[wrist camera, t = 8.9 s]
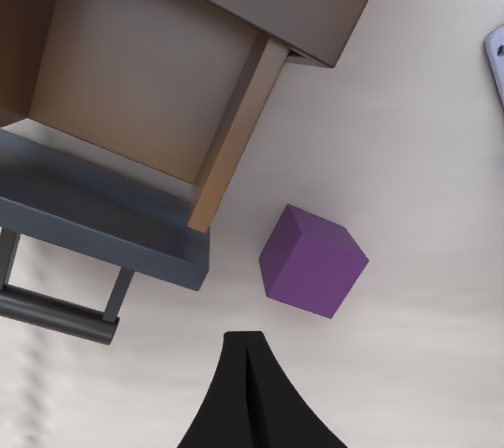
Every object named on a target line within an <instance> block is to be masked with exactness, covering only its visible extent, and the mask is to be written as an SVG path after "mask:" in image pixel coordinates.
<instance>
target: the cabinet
mask: <svg viewBox="0 0 504 448" xmlns="http://www.w3.org/2000/svg"><path fill="white" fill-rule="evenodd" d="M199 1H201V2H203V3H205V4H207V5H209V6H211V7H213V8H214V9H216V10H218V11H220V12H222V13H224V14H226V15H228V16H229V17H231V18H233V19H235V20H237V21H239V22H241V23H243V24H245V25H246V26H248V27H250V28H252V29H254V30H256V31H258V32H260V33H261V34H263V35H265V36H267V37H269V38H271V39H273V40H275V41H276V42H278V43H280V44H282V45H284V46H286V47H288V48H290V51H289V53H288V56H287V58H286V60H285V62H289V63H296V64H303V65H311V66H318V67H325V68H334V67H335V65H336V63H337V61H338V60H339V58H340V56H341V54H342V52H343V50H344V48H345V46H346V44H347V42H348V40H349V38H350V36H351V34H352V32H353V30H354V28H355V26H356V24H357V22H358V20H359V18H360V16H361V14H362V12H363V10H364V8H365V6H366V4H367V2H368V0H199Z"/></svg>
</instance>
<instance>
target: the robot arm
mask: <svg viewBox="0 0 504 448" xmlns="http://www.w3.org/2000/svg"><path fill="white" fill-rule="evenodd" d="M500 46H501V47H502V52H501V54H500V55H499V56H498V55H497V50H498V48H499V47H500ZM485 47H486V51H487V54H488V57H489V61H490V64H491V67H492V70H493V74H494V77H495V80H496V84H497V87H498V90H499V93H500V97H501V100H502V103H503V107H504V25H503V26H501V27H500V28H498V29H497V30H495V31H493V32H492V33H491V34H490V35H489V36H488V37H487V39H486V42H485ZM177 448H348V447H347V446H346V445H345V444H344V443H343V442H342V441H341V440H340V439H338V438H337V437H336V436H335V435H334V434H333V433H332V432H331V431H330V430H329V429H328V428H327V427H326V426H325V424H324V423H323V422H322V421H321V420H320V419H319V418H318V417H317V416H316V414H315V413H314V412H313V411H312V410H311V409H310V407H309V406H308V405H307V404H306V402H305V401H304V400H303V399H302V397H301V396H300V395H299V393H298V392H297V391H296V389H295V388H294V386H293V385H292V384H291V382H290V381H289V379H288V378H287V376H286V375H285V373H284V371H283V370H282V368H281V367H280V365H279V363H278V362H277V360H276V358H275V356H274V355H273V353H272V351H271V349H270V347H269V345H268V343H267V341H266V339H265V337H264V334H263V333H262V332H261V331H229V332H226V333H225V334H224V341H223V347H222V352H221V355H220V359H219V362H218V365H217V368H216V371H215V374H214V377H213V380H212V382H211V384H210V387H209V389H208V392H207V394H206V396H205V398H204V401H203V403H202V405H201V407H200V409H199V411H198V413H197V415H196V416H195V418H194V420H193V422H192V424H191V425H190V427H189V429H188V431H187V432H186V434H185V436H184V437H183V439H182V441H181V442H180V444H179V445H178V447H177Z"/></svg>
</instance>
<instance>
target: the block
mask: <svg viewBox="0 0 504 448" xmlns="http://www.w3.org/2000/svg"><path fill="white" fill-rule="evenodd" d="M368 262H369V260H368V258H367V257H366V256H365V254H364V253H363V251H362V250H361V249H360V247H359V246H358V245H357V243H356V242H355V241H354V239H353V238H352V237H351V235H350V234H349V233H348V231H347V230H346V228H344V227H342V226H339V225H337V224H335V223H332V222H330V221H327V220H325V219H323V218H320V217H318V216H315V215H313V214H311V213H308V212H306V211H303V210H301V209H299V208H296V207H294V206H291V205H289V204H288V205H287V207H286V208H285V210H284V212H283V214H282V216H281V218H280V220H279V222H278V224H277V225H276V227H275V229H274V231H273V233H272V235H271V237H270V239H269V241H268V242H267V244H266V246H265V248H264V250H263V252H262V254H261V256H260V258H259V263H260V268H261V273H262V278H263V282H264V287H265V292H266V296H267V297H268V298H271V299H274V300H277V301H280V302H283V303H286V304H289V305H292V306H295V307H298V308H300V309H303V310H306V311H309V312H312V313H315V314H318V315H321V316H324V317H327V318H330V319H331V318H332V317H333V315H334V314H335V312H336V311H337V309H338V308H339V306H340V305H341V303H342V302H343V300H344V298H345V297H346V295H347V294H348V292H349V291H350V289H351V288H352V286H353V285H354V283H355V282H356V280H357V279H358V277H359V276H360V274H361V272H362V271H363V269H364V268H365V266H366V265H367V263H368Z"/></svg>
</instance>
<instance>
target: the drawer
mask: <svg viewBox="0 0 504 448" xmlns="http://www.w3.org/2000/svg"><path fill="white" fill-rule="evenodd" d="M289 51H290V48H288V47H286V46H284V45H282V44H280V43H278V42H276V41H275V40H273V39H271V38H269V37H267V36H265V35H263V34H261V33H260V32H258V31H256V30H254V29H252V28H250V27H248V26H246V25H245V24H243V23H241V22H239V21H237V20H235V19H233V18H231V17H229V16H228V15H226V14H224V13H222V12H220V11H218V10H216V9H214V8H213V7H211V6H209V5H207V4H205V3H203V2H201V1H199V0H0V227H2V230H1V234H0V316H3V317H6V318H10V319H14V320H17V321H21V322H25V323H28V324H32V325H35V326H39V327H43V328H46V329H50V330H54V331H57V332H61V333H65V334H68V335H72V336H76V337H79V338H83V339H86V340H90V341H94V342H97V343H101V344H105V345H110V344H111V342H112V339H113V337H114V334H115V332H116V329H117V326H118V324H119V321H120V317H118V316H117V315H118V312H119V310H120V307H121V305H122V302H123V300H124V297H125V294H126V292H127V289H128V287H129V284H130V282H131V279H132V277H133V274H134V272H135V271H136V272H140V273H143V274H146V275H149V276H152V277H155V278H158V279H161V280H164V281H167V282H170V283H173V284H176V285H179V286H182V287H185V288H188V289H191V290H194V291H199V290H200V288H201V286H202V284H203V282H204V279H205V277H206V275H207V273H208V271H209V250H210V224H211V221H212V219H213V217H214V215H215V213H216V211H217V208H218V206H219V204H220V202H221V200H222V197H223V195H224V193H225V191H226V189H227V187H228V184H229V182H230V180H231V178H232V176H233V173H234V171H235V169H236V167H237V165H238V163H239V160H240V158H241V156H242V154H243V152H244V149H245V147H246V145H247V143H248V141H249V138H250V136H251V134H252V132H253V130H254V128H255V125H256V123H257V121H258V119H259V117H260V114H261V112H262V110H263V108H264V106H265V104H266V101H267V99H268V97H269V95H270V93H271V90H272V88H273V86H274V84H275V82H276V80H277V77H278V75H279V73H280V71H281V69H282V66H283V64H284V62H285V60H286V58H287V56H288V53H289ZM26 118H29V119H32V120H34V121H37V122H39V123H42V124H44V125H47V126H49V127H52V128H54V129H57V130H59V131H62V132H64V133H67V134H69V135H71V136H74V137H76V138H79V139H81V140H84V141H86V142H89V143H91V144H94V145H96V146H99V147H101V148H104V149H106V150H109V151H111V152H114V153H116V154H119V155H121V156H124V157H126V158H129V159H131V160H134V161H136V162H139V163H141V164H144V165H146V166H148V167H151V168H153V169H156V170H158V171H161V172H163V173H166V174H168V175H171V176H173V177H176V178H178V179H181V180H183V181H186V182H188V183H191V184H193V192H192V198H191V202H188V201H186V200H183V199H180V198H178V197H175V196H173V195H170V194H168V193H165V192H162V191H160V190H157V189H155V188H152V187H150V186H147V185H145V184H142V183H139V182H137V181H134V180H132V179H129V178H127V177H124V176H121V175H119V174H116V173H114V172H111V171H109V170H106V169H103V168H101V167H98V166H96V165H93V164H91V163H88V162H85V161H83V160H80V159H78V158H75V157H73V156H70V155H67V154H65V153H62V152H60V151H57V150H55V149H52V148H50V147H47V146H44V145H42V144H39V143H37V142H34V141H32V140H29V139H26V138H24V137H21V136H19V135H16V134H14V133H11V132H8V131H6V130H3V129H1V127H4V126H7V125H9V124H12V123H15V122H18V121H21V120H24V119H26ZM21 234H24V235H27V236H30V237H33V238H36V239H39V240H42V241H45V242H48V243H51V244H54V245H57V246H61V247H64V248H67V249H70V250H73V251H76V252H79V253H82V254H85V255H88V256H91V257H94V258H97V259H100V260H103V261H106V262H109V263H112V264H115V265H118V266H121V270H120V272H119V275H118V278H117V280H116V283H115V285H114V288H113V291H112V293H111V296H110V299H109V301H108V304H107V306H106V309H105V312H101V311H98V310H94V309H91V308H87V307H84V306H81V305H77V304H74V303H71V302H67V301H64V300H60V299H57V298H54V297H50V296H47V295H43V294H40V293H37V292H33V291H30V290H27V289H23V288H20V287H16V286H13V285H10V284H8V282H9V278H10V274H11V270H12V266H13V262H14V258H15V255H16V251H17V247H18V243H19V239H20V235H21Z"/></svg>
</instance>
